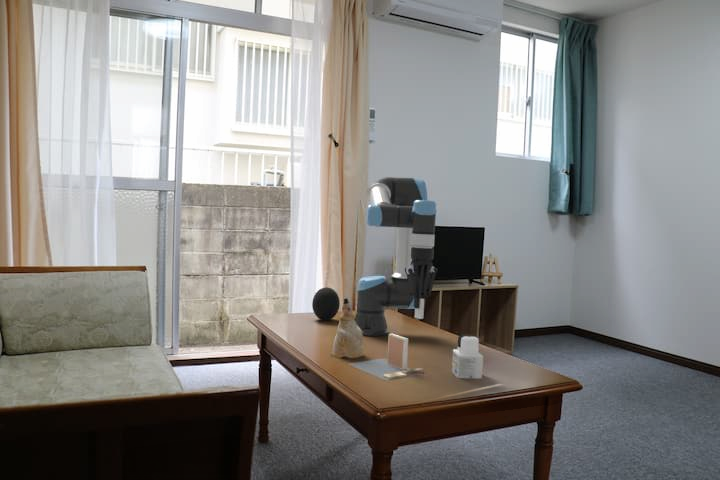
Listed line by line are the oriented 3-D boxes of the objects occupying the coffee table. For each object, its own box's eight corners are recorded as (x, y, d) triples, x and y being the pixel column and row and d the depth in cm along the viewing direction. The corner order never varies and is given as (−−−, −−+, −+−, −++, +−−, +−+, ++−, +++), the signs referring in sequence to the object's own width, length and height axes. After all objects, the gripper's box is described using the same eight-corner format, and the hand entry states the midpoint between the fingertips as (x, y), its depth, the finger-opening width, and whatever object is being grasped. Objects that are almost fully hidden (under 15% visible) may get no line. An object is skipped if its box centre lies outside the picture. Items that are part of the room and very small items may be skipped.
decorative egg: (327, 316, 264) (328, 284, 263) (344, 321, 255) (345, 288, 254) (306, 319, 256) (307, 286, 255) (323, 324, 246) (324, 290, 246)
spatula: (418, 370, 180) (418, 367, 180) (425, 372, 177) (425, 369, 177) (382, 376, 171) (382, 373, 171) (388, 379, 169) (389, 376, 168)
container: (451, 372, 181) (453, 332, 180) (474, 373, 182) (477, 333, 181) (457, 379, 173) (460, 338, 173) (482, 380, 174) (484, 338, 173)
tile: (390, 363, 186) (392, 333, 186) (406, 369, 180) (408, 338, 179) (386, 363, 185) (388, 333, 185) (402, 370, 179) (404, 339, 178)
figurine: (340, 361, 188) (343, 302, 187) (325, 353, 197) (328, 297, 196) (369, 358, 194) (372, 300, 193) (354, 350, 203) (356, 295, 202)
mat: (383, 360, 192) (383, 358, 192) (423, 375, 176) (423, 373, 176) (347, 365, 183) (347, 363, 183) (385, 382, 167) (386, 380, 167)
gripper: (429, 246, 192) (425, 314, 193) (400, 246, 185) (396, 317, 186) (444, 248, 186) (441, 318, 187) (415, 247, 179) (411, 321, 180)
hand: (418, 318), depth 187 cm, fingers closed
